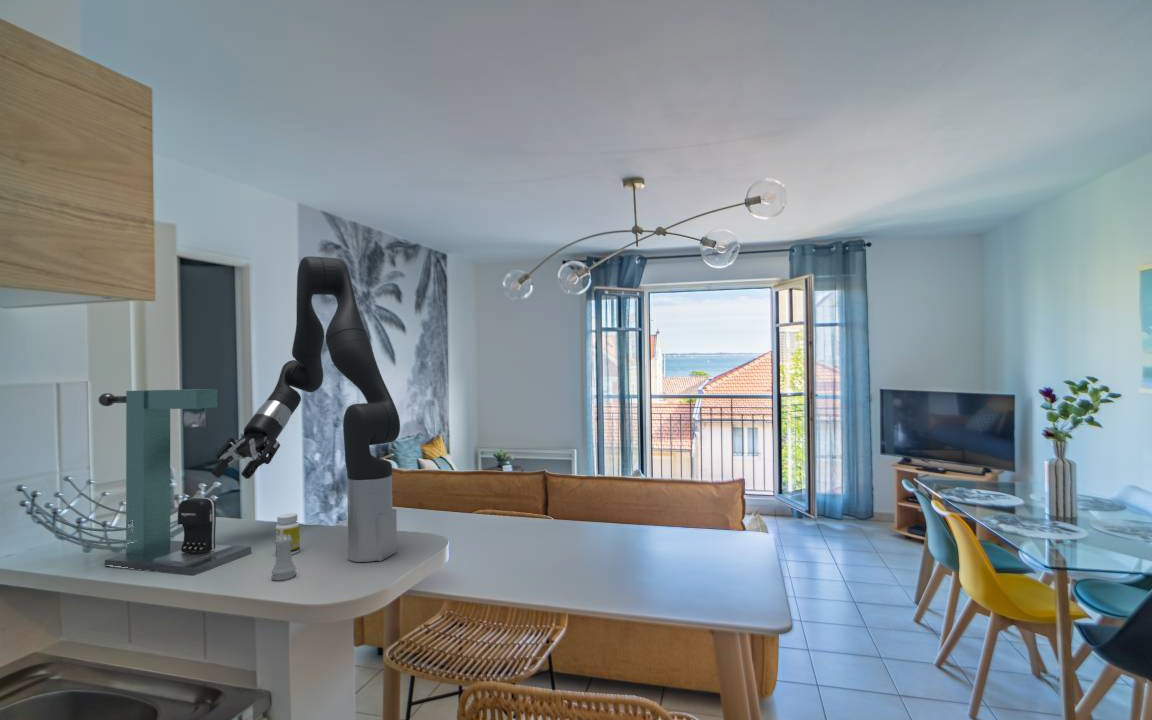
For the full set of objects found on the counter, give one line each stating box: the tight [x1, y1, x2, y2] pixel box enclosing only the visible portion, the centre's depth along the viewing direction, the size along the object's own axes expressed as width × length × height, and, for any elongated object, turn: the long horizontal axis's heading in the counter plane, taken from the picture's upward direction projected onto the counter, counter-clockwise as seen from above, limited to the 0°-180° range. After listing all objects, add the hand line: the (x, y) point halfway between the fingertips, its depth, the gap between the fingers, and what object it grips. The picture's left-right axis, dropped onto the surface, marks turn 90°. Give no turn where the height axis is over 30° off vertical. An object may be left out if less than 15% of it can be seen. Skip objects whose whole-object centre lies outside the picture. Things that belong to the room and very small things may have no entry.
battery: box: [177, 497, 217, 553], centre depth 121 cm, size 7×4×11 cm, turn 78°
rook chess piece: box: [270, 535, 297, 582], centre depth 110 cm, size 4×4×8 cm
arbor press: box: [98, 388, 252, 576], centre depth 124 cm, size 35×14×37 cm, turn 75°
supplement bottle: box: [275, 512, 301, 556], centre depth 125 cm, size 5×5×8 cm
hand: (229, 476), depth 130 cm, fingers open, 8 cm apart
